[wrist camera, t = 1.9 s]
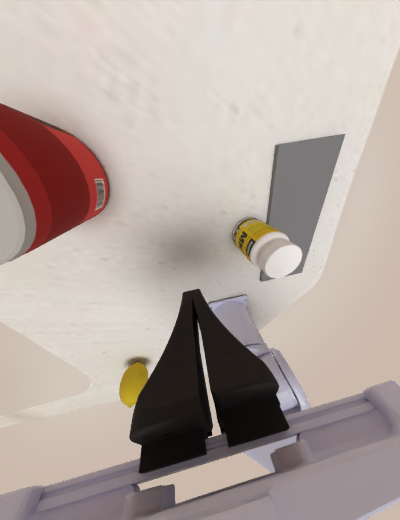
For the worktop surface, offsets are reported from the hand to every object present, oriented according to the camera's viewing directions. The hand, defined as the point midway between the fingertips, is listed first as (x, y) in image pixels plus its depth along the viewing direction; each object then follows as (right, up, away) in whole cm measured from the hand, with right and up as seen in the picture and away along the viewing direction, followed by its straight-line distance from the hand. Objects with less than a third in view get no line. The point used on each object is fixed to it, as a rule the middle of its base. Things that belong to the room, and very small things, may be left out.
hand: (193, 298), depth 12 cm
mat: (+14, +9, +10) cm, 20 cm away
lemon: (-15, -21, +23) cm, 34 cm away
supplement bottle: (+8, +7, +10) cm, 14 cm away
